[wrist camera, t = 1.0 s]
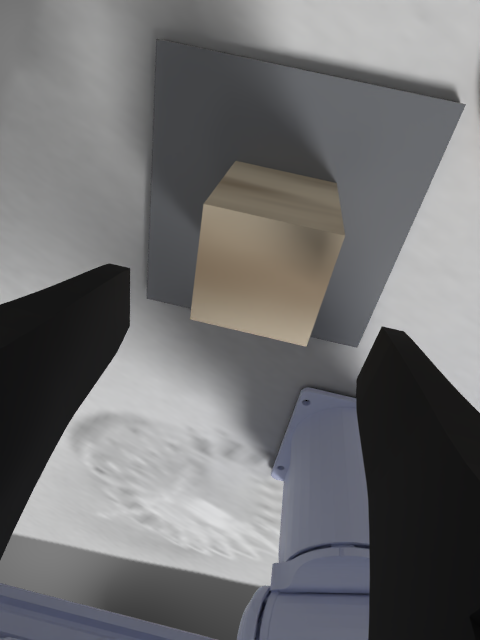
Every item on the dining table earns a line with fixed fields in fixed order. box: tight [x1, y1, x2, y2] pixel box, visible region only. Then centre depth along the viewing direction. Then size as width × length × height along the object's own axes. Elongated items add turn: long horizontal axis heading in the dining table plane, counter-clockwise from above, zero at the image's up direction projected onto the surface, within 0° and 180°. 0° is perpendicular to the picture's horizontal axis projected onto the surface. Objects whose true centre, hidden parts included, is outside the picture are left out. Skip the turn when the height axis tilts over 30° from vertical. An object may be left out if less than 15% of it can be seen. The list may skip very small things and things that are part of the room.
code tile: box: [147, 39, 466, 347], centre depth 19 cm, size 12×12×1 cm
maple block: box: [190, 161, 345, 347], centre depth 16 cm, size 4×4×6 cm
